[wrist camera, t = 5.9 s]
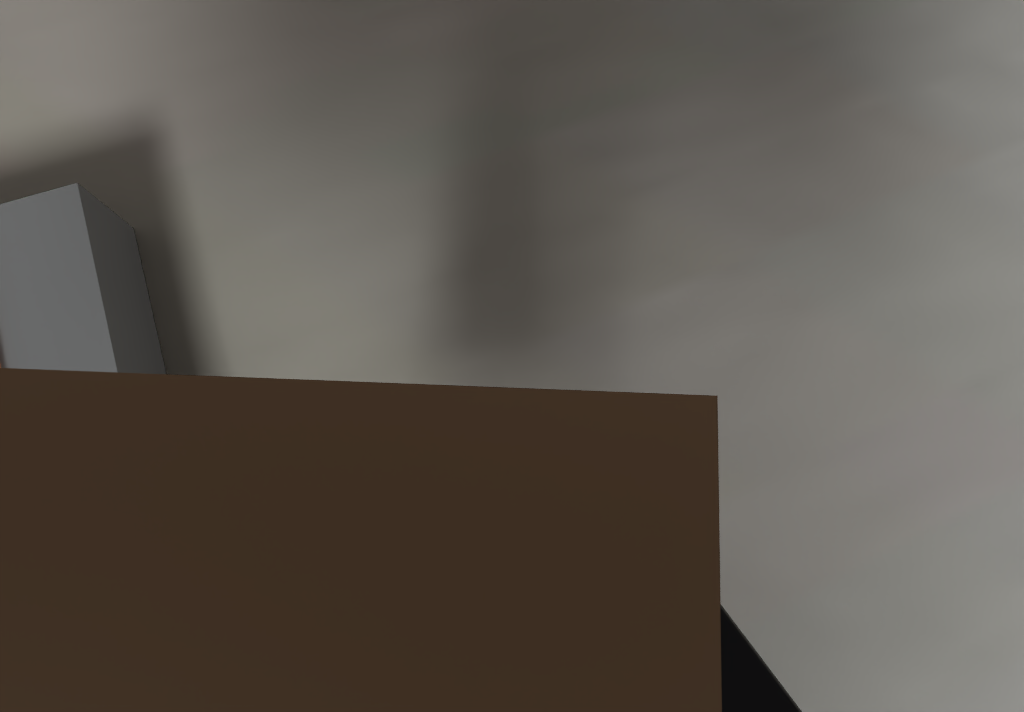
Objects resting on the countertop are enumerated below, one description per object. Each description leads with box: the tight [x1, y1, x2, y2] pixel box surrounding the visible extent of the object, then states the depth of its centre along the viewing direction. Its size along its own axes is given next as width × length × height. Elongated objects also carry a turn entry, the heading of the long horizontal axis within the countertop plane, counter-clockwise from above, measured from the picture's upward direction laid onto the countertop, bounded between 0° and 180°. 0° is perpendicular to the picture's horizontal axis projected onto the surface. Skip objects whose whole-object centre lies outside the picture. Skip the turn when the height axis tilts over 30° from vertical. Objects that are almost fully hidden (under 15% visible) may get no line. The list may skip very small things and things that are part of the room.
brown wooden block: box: [0, 368, 722, 712], centre depth 8 cm, size 4×4×11 cm
